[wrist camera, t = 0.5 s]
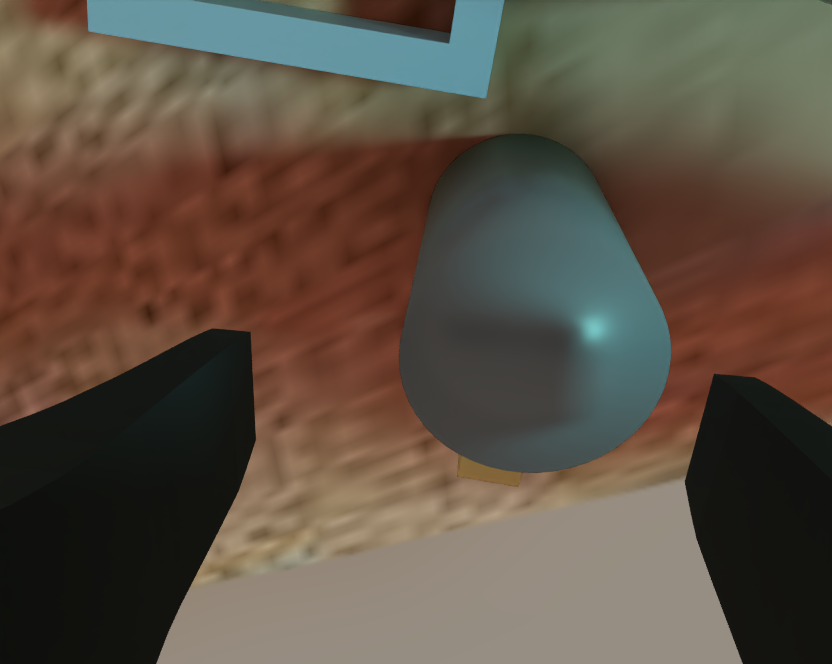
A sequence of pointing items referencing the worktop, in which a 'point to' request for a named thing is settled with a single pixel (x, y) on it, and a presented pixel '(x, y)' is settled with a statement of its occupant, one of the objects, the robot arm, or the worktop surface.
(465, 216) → the dark grey rounded cylinder
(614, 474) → the worktop surface
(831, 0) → the motor
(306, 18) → the light blue shallow tray
